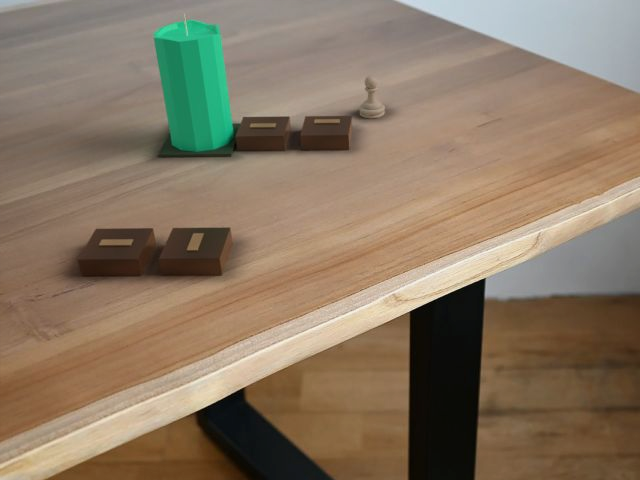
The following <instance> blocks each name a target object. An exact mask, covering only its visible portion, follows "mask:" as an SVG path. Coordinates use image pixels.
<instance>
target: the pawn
mask: <svg viewBox="0 0 640 480" xmlns="http://www.w3.org/2000/svg"><path fill="white" fill-rule="evenodd" d="M364 86H365V87H364V91H365V92H367V96H366V97H367V98H366V100H364V101H363V103H362V104H360V105H359V107H358V110H359V115H360V117H362V118H364V119H371V120H372V119H373V120H374V119H379V118H381V117H383V116H384V115H385V113H386V112H385V110H386V107H385V105H384V104H383V103H382V102H381V101H380V100H378V99H377V97H376V92H377V91H378V90H379V89H378V87H377V86H378V79H377V77H375V76H374V75H367V76H366V77H365V80H364Z"/></svg>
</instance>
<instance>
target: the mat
mask: <svg viewBox="0 0 640 480" xmlns="http://www.w3.org/2000/svg"><path fill="white" fill-rule="evenodd" d="M240 124H241V122H240V123H232V125H233V133H234V138H233V139H232V140H231V141H230V142H229V143H228V144H227V145H224V146H222V147H219V148H217V149H214V150H207V151H199V152H194V151H184V150H180V149H178V148H176V147H174V146H173V145H172V141H171V135H170V132H169V134H168V135H167V137H166V139H165V141H164V142H163V144H162V145H161V148H160V150H159V152H158V153H157V157H158V158H209V157H210V158H214V157H215V158H225V157H226V158H227V157H230V158H231V157H232V156H233V153H234V150H235V148H236V147H237V145H236V138H235V136H236V134H237V131H238V129H239V127H240Z"/></svg>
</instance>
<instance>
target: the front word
mask: <svg viewBox="0 0 640 480" xmlns="http://www.w3.org/2000/svg"><path fill="white" fill-rule="evenodd" d="M233 243H234V242H233V236H232V229H231V227H229V226H228V227H227V226H226V227H223V226H221V227H172V228H171V230H170V233H169V235H168V237H167V240H166V242H165V244H164V246H163V248H162V251H161V253H160V255H159V257H158V263H159V268H160V272H161V276H162V277H177V276H178V277H179V276H182V277H188V276H189V277H190V276H191V277H192V276H193V277H195V276H223V273H224V271H225V268H226V265H227V262H228V259H229V256H230V253H231V250H232V247H233ZM156 246H157V241H156V235H155V230H154V227H140V228H139V227H132V228H131V227H129V228H128V227H127V228H126V227H125V228H124V227H121V228H95V230H94V231H93V233H92V234H91V236H90V238H89V240H88V241H87V244H86V245H85V246H84V248H83V250H82V251H81V253H80V254H79V257H78V258H77V263H78V267H79V271H80V274H81V277H141V276H143V273H144V271H145V269H146V267H147V265H148V263H149V261H150V258H151V257H152V254H153V253H154V251H155V248H156Z"/></svg>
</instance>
